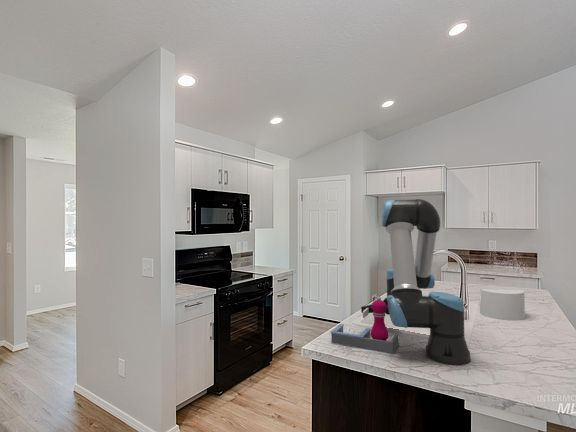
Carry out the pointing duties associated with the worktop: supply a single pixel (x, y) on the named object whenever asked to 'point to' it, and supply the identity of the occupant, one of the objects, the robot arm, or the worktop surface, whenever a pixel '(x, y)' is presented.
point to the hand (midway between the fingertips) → (379, 316)
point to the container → (502, 304)
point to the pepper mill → (379, 320)
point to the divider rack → (363, 340)
